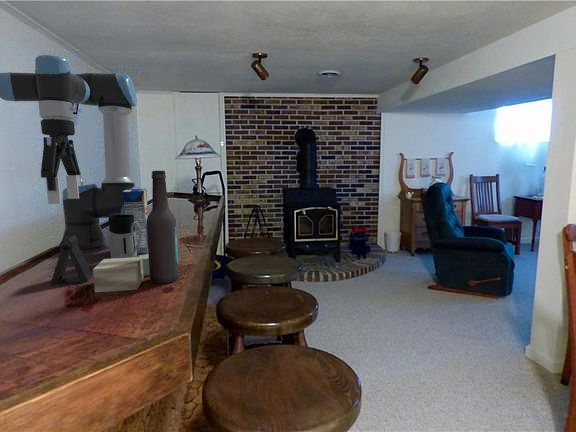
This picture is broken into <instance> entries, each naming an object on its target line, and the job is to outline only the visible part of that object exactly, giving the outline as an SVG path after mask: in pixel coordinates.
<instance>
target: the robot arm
mask: <svg viewBox="0 0 576 432" xmlns="http://www.w3.org/2000/svg"><path fill="white" fill-rule="evenodd" d="M34 61H35V63H34V64H35V65H34V68H35V70H34V72H35V73H34V72H12V71H9V72H0V98H1V99H2V100H3V101H5V102H15V103H16V102H38V110H39V117H40V118H41V120H40V129H41V134H42V135H43V136H44V137H43V149H42V158H41V159H42V160H41V165H40V166H41V167H40V168H41V169H40V178H42V179H45V184H46V194H47V195H46V197H47V203H48V205H60V204H62V206H63V217H64V225H65V227H64V231H63V235H62V239H61V241H63V240H64V239H65V238H67V237H68V236H70V237H69V238H71V237H72V236H75V237H77V239H78V247H79V249H80V250H90V249H95V248H99V247H102V246H105V245H106V244H107V238H106V235H105V233H104V231H103V229H102V226H101V225H100V219H108V217H109V216H113V215H124V207H123V193H122V192H123V191H124V190H126V189H140V188H139V187H137V186H135V181H134V180H133V179H132V178H131V172H130V171H131V168H130V164H131V163H130V144H129V143H130V142H129V141H130V140H129V139H130V138H129V137H130V136H129V135H130V134H129V115H130V114H131V113H132V112H133V107H136V106H137V101H138V98H137V93H136V89H135V85H134V82H133V80H132V78H131V77H130V76H129V75H128V74H125V73H117V72H115V73H104V72H103V73H102V72H101V73H98V72H97V73H95V72H94V73H92V72H84V73H83V72H82V73H75V74H73V73H72V72H71V68H70V63H69V60H67V58H64V57H61V56H58V55H52V54H51V55H49V54H41V55H37V56H36V57H35V60H34ZM73 104H77V105H79V104H80V105H84V106H92V107H93V106H96V107H97V106H98V111H99V112H100V113H101V114H102V117H103V121H102V122H103V123H102V124H103V142H104V143H103V144H104V168H105V169H104V170H105V178H104V179H103V180H102V181H101V184H100V185H101V187H98V185H97V184H96V183H90V184H82V185H79V182H78V181H79V179H78V176H81V171H80V166H79V162H78V158H77V155H76V150H75V147H74V140H73V139H69V137H71V136H75V134H76V132H75V131H76V130H75V129H76V127H75V122H74V121H73V119H74V111H75V110H76V108H75V106H73ZM61 162H62V165H63V168H64V170H65V172H66V175H65V182H66V183H65V184H66V188H63V190H62V192H61V188H60V187H61V186H60V177H58V173H59V169H60V164H61ZM61 193H62V196H61ZM61 197H62V198H61ZM69 238H68V239H69ZM68 239H67V240H68ZM67 242H68V244H70V245H71V243H70V242H69V241H67Z"/></svg>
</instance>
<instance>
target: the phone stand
mask: <svg viewBox="0 0 576 432" xmlns="http://www.w3.org/2000/svg"><path fill="white" fill-rule="evenodd" d="M69 237H70V236H68V237H67V238H65V239H64V240H63V241H62V240H61V241H60V243H59V248H60V252H59V256H58V260H57V262H56V265H55V269H54V272H53V275H52V279H51V281H50V285H52V286H56V285H57V286H58V285H68V284H69V285H70V284H81V283H82V284H83V283H88V282H89V280H90V278H92V276H93V273H92V272H93V271H92V270H91V268H90V267H89V264H88V263H87V261H86V259H85V257H84V255H83V253H82V251H81V249H79V247H78V239H77V237H75V236H72V237H71V238H69ZM68 238H69V239H68ZM67 239H68V240H67ZM67 241H69V242H70V243H71V245H70V244H68V242H67ZM69 257H70V258H71V261H72V264H73V267H74V269H75V271H76V274H77V275H67V276H66V271H67V267H68V260H69Z"/></svg>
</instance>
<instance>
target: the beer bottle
mask: <svg viewBox="0 0 576 432" xmlns="http://www.w3.org/2000/svg"><path fill="white" fill-rule="evenodd" d="M151 179H152V183H151V184H152V186H151V187H152V189H151V190H152V191H151V193H152V197H151V201H152V207H151V211H150V213H148V218H147V240H148V253H147V254H148V257H149V273H150V275H149V279H150V282H152V283H153V284H169V283H172V282H175V281H177V280H178V279H179V257H178V256H179V255H178V254H179V253H178V235H177V233H178V232H177V223H176V217H175V214H174V213H173V212H172V211H171V210H170V207H169V201H168V190H167V182H166V179H167V176H166V171H165V170H152V171H151Z"/></svg>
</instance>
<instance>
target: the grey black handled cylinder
mask: <svg viewBox="0 0 576 432" xmlns="http://www.w3.org/2000/svg"><path fill="white" fill-rule="evenodd" d="M107 219H108V237H109V238H108V241H109V249H110V251H109V252H110V259H113V258H132V257H138V254H137V248H138V247H139V245H140V242H141V227H140V225H139V223H137V222H134V215H129V214H124V215H113V216H109V217H108V218H107ZM134 224H137V226H138V228H139V240H138V244H137V246H136V231H135V225H134Z"/></svg>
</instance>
